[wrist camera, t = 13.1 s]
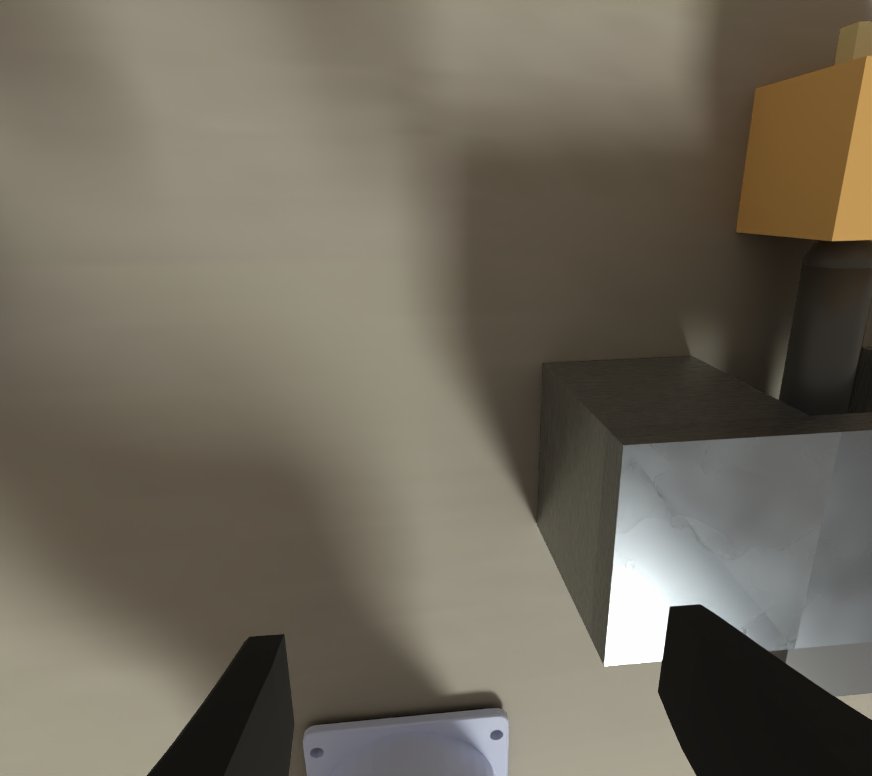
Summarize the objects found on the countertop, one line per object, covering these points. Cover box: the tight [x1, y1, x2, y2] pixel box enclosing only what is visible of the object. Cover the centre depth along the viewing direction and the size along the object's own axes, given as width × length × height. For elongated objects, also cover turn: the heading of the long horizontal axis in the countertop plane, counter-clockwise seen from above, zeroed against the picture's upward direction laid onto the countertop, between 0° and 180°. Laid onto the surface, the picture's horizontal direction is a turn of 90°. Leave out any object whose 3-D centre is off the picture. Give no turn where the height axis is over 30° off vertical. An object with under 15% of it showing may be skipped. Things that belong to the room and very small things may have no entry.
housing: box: [537, 347, 872, 666], centre depth 17 cm, size 6×17×6 cm, turn 91°
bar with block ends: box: [736, 21, 872, 697], centre depth 17 cm, size 18×4×5 cm, turn 1°
